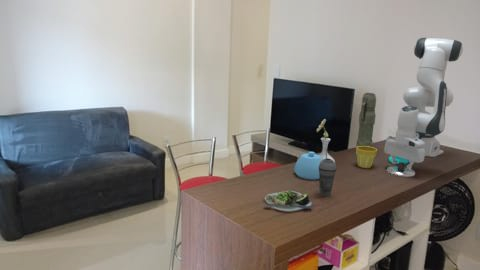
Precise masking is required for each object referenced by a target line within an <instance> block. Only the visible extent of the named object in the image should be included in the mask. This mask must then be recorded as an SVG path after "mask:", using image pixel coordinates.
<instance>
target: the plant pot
mask: <svg viewBox="0 0 480 270" xmlns="http://www.w3.org/2000/svg"><path fill="white" fill-rule="evenodd" d="M355 154H356V159H357V160H356V161H357V166H358V167H359V168H363V169H370V168H372V166H373V164H374V163H373V162H374V160H375V157H377V154H378V149H377V148H375V147H374V146H372V147H369V146H357V147H356V146H355Z"/></svg>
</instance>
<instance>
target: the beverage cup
mask: <svg viewBox="0 0 480 270" xmlns="http://www.w3.org/2000/svg"><path fill="white" fill-rule="evenodd" d="M327 153H328V147H327V148H326V159H323V160H322V161H321V162H320V164H319V167H318V168H319V179H318V181H319V183H318V185H319V189H318V190H319V195H320V196H321V197H322V196H323V197H330V196H331V194H332V190H333V185H334V180H335V179H334V178H335V175H336V172H337V164H336V161H335V162H334V161H333V160H331V159H328V158H327Z"/></svg>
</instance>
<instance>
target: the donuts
mask: <svg viewBox="0 0 480 270" xmlns="http://www.w3.org/2000/svg"><path fill="white" fill-rule="evenodd" d="M395 158H396V160H397V164H396V165H398V163H399V162H404V163H405V165H408V164H409V163H410V162H409V161H410V160H407V159H403V158H400V157H397V156H396V157H395ZM388 161H389V163H391V164H393V163H392V162H393V160H392V158H391V155H390V156H389V157H388Z"/></svg>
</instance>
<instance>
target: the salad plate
mask: <svg viewBox="0 0 480 270" xmlns="http://www.w3.org/2000/svg"><path fill="white" fill-rule="evenodd" d="M273 200H274V201H273ZM264 201H265V202H266V203H264V207H266V208H267V207H268V208H270V209H273V210H277V211H281V212H287V213H292V212H299V211H305V210H309V209H312V208H314V206H313V202H312V201H311V200H310V198H309V195H308V193H304V194H302V193H300V192H297V191H294V190H285V191H281V192H280V191H279V192H273V193H268V194H266V195H265V196H264Z"/></svg>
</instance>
